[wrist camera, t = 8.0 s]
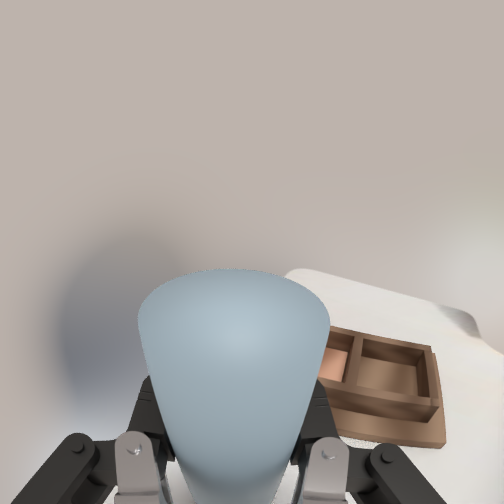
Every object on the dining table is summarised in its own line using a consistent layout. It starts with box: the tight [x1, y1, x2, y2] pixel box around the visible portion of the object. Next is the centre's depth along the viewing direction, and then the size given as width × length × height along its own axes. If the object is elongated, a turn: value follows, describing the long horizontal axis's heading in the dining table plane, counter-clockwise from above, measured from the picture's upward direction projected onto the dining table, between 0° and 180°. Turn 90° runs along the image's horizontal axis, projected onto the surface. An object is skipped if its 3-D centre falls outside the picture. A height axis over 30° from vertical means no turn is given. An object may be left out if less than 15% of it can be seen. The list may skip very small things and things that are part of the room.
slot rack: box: [317, 326, 446, 448], centre depth 25 cm, size 22×14×4 cm, turn 67°
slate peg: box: [138, 269, 330, 504], centre depth 9 cm, size 4×4×13 cm
